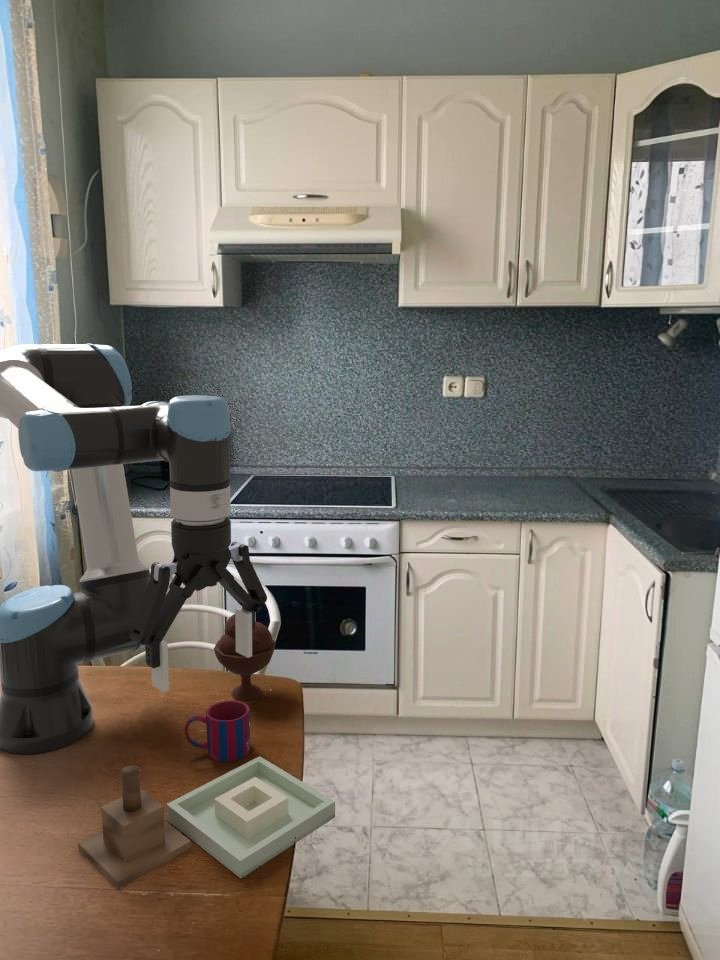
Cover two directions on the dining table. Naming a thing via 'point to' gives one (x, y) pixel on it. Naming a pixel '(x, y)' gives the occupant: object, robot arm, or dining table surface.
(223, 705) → the mug
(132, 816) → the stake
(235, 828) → the ring
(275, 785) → the tray
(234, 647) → the ice cream bowl
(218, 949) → the dining table surface
